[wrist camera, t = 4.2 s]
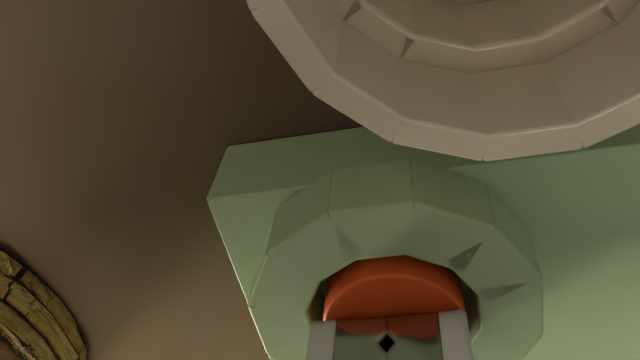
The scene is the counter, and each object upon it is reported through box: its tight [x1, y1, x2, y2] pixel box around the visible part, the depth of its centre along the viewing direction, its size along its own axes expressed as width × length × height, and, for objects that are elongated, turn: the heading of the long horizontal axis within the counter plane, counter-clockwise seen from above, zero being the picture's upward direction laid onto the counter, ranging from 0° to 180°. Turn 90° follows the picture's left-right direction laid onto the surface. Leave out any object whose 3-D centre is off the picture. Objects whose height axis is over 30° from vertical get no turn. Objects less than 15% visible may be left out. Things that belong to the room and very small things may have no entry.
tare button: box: [323, 255, 465, 321], centre depth 12 cm, size 3×3×1 cm
